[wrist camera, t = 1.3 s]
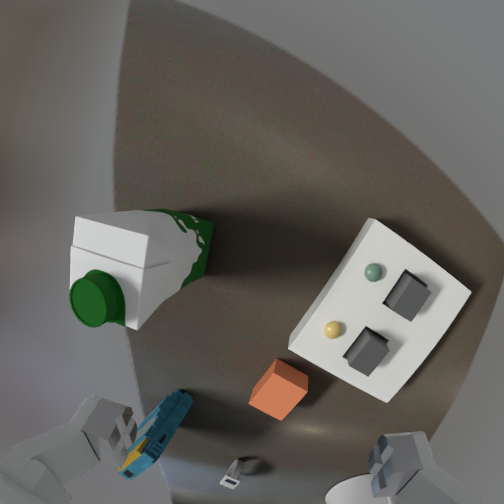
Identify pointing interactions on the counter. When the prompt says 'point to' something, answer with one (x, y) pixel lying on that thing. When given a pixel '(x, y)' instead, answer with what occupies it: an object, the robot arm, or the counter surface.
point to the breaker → (407, 296)
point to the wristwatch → (233, 474)
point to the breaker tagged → (367, 351)
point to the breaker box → (377, 311)
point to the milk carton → (134, 263)
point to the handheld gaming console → (156, 433)
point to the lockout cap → (279, 390)
